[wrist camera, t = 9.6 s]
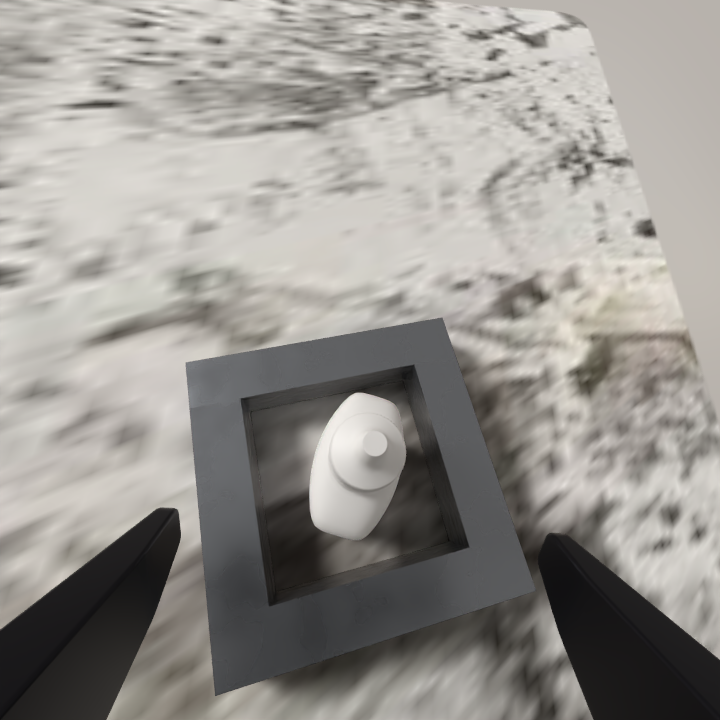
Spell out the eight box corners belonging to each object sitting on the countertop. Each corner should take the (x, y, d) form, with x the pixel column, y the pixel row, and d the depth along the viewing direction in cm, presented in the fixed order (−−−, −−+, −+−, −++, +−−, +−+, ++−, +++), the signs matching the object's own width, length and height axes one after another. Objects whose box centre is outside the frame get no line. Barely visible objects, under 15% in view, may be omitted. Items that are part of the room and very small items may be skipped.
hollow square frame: (506, 578, 20) (536, 590, 18) (231, 665, 18) (215, 696, 15) (428, 338, 25) (442, 317, 22) (202, 380, 23) (185, 362, 20)
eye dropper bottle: (406, 467, 22) (496, 429, 11) (336, 543, 20) (358, 592, 9) (353, 413, 23) (387, 327, 12) (282, 482, 21) (241, 458, 10)
